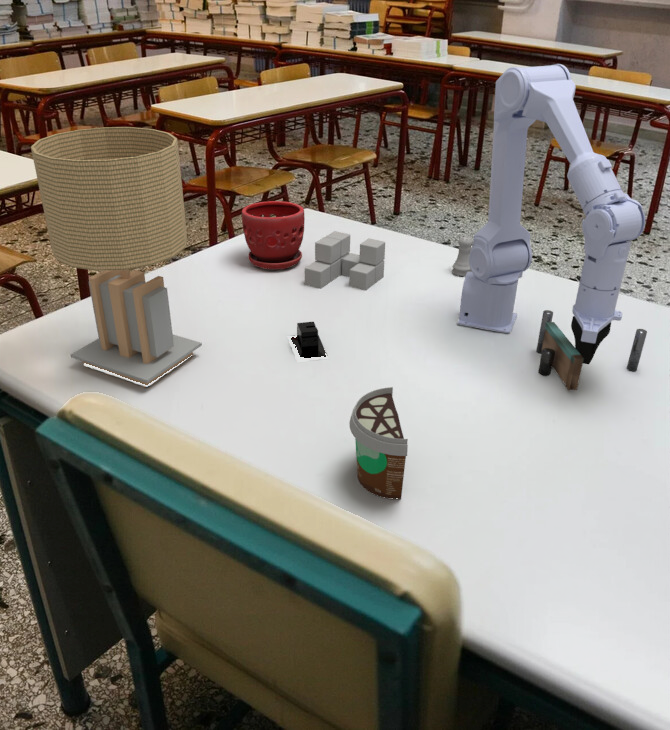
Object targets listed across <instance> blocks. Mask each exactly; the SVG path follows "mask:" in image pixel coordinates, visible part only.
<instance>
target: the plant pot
mask: <svg viewBox="0 0 670 730" xmlns="http://www.w3.org/2000/svg"><path fill="white" fill-rule="evenodd" d="M271 215H274V217H273V216H272V217H271ZM305 219H306V218H305V209H304V207H303V206H302V205H300V204H298V203H294V202H289V201H280V200H275V201H274V200H271V201H260V202H256V203H251V204H249V205H246V206H244V207H243V208H242V210H241V220H242V223H241V224H242V230H243V235H244V240H245V242H246V245H247V247H248V249H249V250H250V251H249V252H248V255H247V257H248V258H247V259H248V261H249V262H250V263H251V264H252V265H254V266H255V267H257V268H261V269H265V270H273V271H274V270H286V269H289V268H291V267H294V266H295V265H298V263H299V262H300V261H301V260H302V257H303V253H302V251H301V250H300V247H301V246H302V243H303V240H304V232H305Z"/></svg>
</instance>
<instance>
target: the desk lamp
mask: <svg viewBox="0 0 670 730" xmlns="http://www.w3.org/2000/svg"><path fill="white" fill-rule="evenodd" d="M30 150H31V156H32V159H33V164H34V169H35V174H36V178H37V183H38V189H39V193H40V199H41V202H42V203H41V204H42V208H43V212H44V219H45V223H46V227H47V233H48V236H49V241H50V247H51V252H52V254H53V256H54V257H55V260H56V261H58V262H59V263H62V264H64V265H66V266H68V267H70V268H75V269H82V270H90V271H94V272H95V271H96V272H97V271H99V272H98V273H96V274H94V275H92V276H90V277H88V280H89V281H88V286H89V292H90V298H91V303H92V308H93V313H94V319H95V325H96V330H97V335H98V338H97V339H95V340H94V341H92V342H90V343H89V344H87V345H84V346H83V347H82V348H80V349H78V350H76V351H75V352H73V353H71V354H70V357H71V359H76V360H78V361H81V362H82V364H83V363H86V364H89V365H92V366H95V367H98V368H100V369H104V370H107V371H109V372H112V373H115V374H117V375H120V376H122V377H125V378H128V379H130V380H133V381H136V382H140V383H142V384H145V385H148V384H149V383H151V382H152V381H154V380H156V379H157V378H158V377H160V376H162V375H163V374H164V373H166V372H167V371H169V370H170V369H172V368H173V367H175V366H177V365H178V364H179V363H181V362H182V361H184V360H185V359H187V358H188V357H190V356H191V355H193V356H194V352H195V351H196V350H198V349H199V348H200V347H201V346H203V344H202V342H200V341H197V340H193V339H189V338H186V337H183V336H179V335H177V334H173V327H172V318H171V311H170V310H171V309H170V301H169V293H168V287H165V283H164V282H165V281H164V276H160V275H158V276H155V277H154V278H152V279H150V280H148V281H146V278H145V277H146V276H145V275H146V274H145V272H144V271H140V270H138V269H137V268H142V267H149V266H153V265H156V264H159V263H162V262H164V261H167V260H169V259H173V258H174V257H176V256H177V255H179V253H181V252H183V251H184V250H185V249H186V247H187V242H188V232H187V230H188V229H187V223H186V213H185V212H186V211H185V203H184V193H183V191H184V190H183V181H182V173H181V172H182V171H181V163H180V151H179V141H178V138H177V137H176V136H174V135H173V134H171V133H170V132H166V131H162V130H159V129H158V130H157V129H154V128H144V127H143V128H141V127H132V126H127V127H126V126H119V127H116V126H115V127H113V126H112V127H109V126H108V127H107V126H106V127H96V128H86V129H83V128H81V129H76V130H71V131H65V132H60V133H59V132H58V133H55V134H52V135H49V136H46V137H43V138H40V139H38V140H37V141H35V142H34V144H32V145H31V146H30ZM132 269H133V270H132Z"/></svg>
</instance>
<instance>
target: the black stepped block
mask: <svg viewBox="0 0 670 730" xmlns="http://www.w3.org/2000/svg"><path fill="white" fill-rule="evenodd" d="M296 335H297V337H296V338H294V337H292V338H291V340H292V342H293V344H295V345H296V346H295V348H296V347H297V350H298V353H299V355H300V357H304V358H311V357H321V356H324V357H326V355H325V353H326V354H327V351H326V350H324V349H325V347H324V345H323V342H322V340H321V338H320V336H319V330H318V328H317V327H316V324H315V321H304V322H297V325H296ZM325 351H326V352H325Z"/></svg>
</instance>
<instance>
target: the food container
mask: <svg viewBox="0 0 670 730" xmlns="http://www.w3.org/2000/svg"><path fill="white" fill-rule="evenodd" d="M393 390H394V388H393V387H391V386H390V387H383V388H382V387H381V388H379V389H378V388H377V389H373V390H372V391H370V392H367V393H366V394H364V395H362V396H361V397H360V398H359V399H358V401H357V402H356V404H355V405H354V407H353V408H352V412H351V415H350V420H349V429H350V432H351V434H352V435H353V437H354V438H355V439H354V440H355V456H356V457H355V459H356V473H357V474H356V475H357V480H358V482H359V484H360V485H361V486H362V488H364V490H366V491H367V492H369V493H371V494H372V493H373V494H372V495H374V494H375V495H374V496H377V495H378V496H377V497H380V496H381V497H380V498H383V497H385V498H384V499H388V498H393V499H392V500H402V494H403V485H404V477H405V476H404V475H405V469H406V467H405V466H406V460H407V456H408V448H409V447H408V438H404V433H403V429H402V426H401V422H400V418H399V413H398V411H397V408H396V405H395V401H394V398H393ZM396 498H398V499H396Z"/></svg>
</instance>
